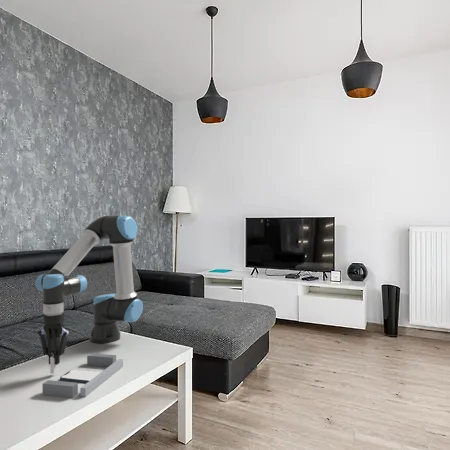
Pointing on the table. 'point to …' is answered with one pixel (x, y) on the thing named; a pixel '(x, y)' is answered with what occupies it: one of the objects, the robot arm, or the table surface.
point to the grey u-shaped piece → (72, 388)
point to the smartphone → (79, 376)
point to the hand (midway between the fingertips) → (54, 372)
